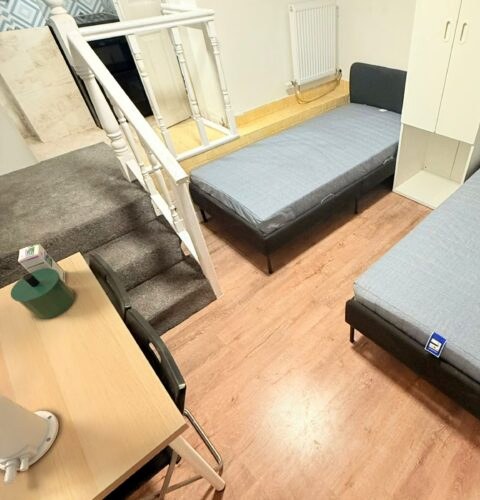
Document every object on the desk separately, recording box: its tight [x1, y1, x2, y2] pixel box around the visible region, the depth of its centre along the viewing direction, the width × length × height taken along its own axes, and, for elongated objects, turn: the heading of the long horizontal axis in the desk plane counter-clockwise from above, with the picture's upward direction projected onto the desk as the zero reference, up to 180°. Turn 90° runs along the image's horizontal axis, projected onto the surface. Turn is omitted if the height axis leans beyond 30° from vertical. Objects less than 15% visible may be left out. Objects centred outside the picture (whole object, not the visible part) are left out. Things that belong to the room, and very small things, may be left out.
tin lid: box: [10, 269, 60, 303], centre depth 100 cm, size 13×13×5 cm
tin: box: [19, 278, 76, 320], centre depth 104 cm, size 12×12×10 cm
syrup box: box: [17, 243, 66, 283], centre depth 109 cm, size 6×6×14 cm
